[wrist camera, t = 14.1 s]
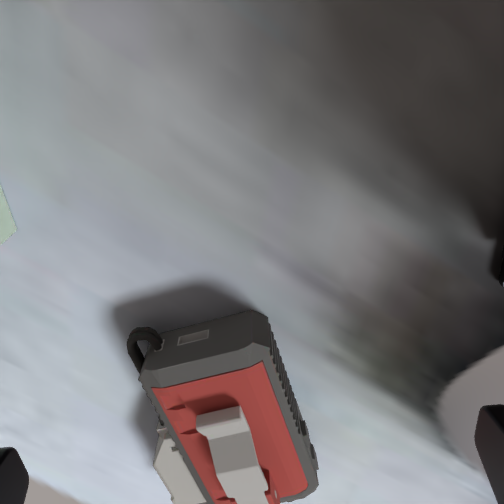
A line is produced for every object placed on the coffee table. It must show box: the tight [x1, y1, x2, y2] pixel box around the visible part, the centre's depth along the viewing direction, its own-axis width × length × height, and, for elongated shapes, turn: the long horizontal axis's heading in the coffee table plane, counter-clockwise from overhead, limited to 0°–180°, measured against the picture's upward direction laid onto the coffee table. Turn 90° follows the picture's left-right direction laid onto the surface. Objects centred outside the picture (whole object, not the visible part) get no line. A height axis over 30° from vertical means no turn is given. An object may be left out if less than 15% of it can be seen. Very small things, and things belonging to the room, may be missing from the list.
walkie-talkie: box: [127, 310, 319, 504], centre depth 24 cm, size 9×4×20 cm
